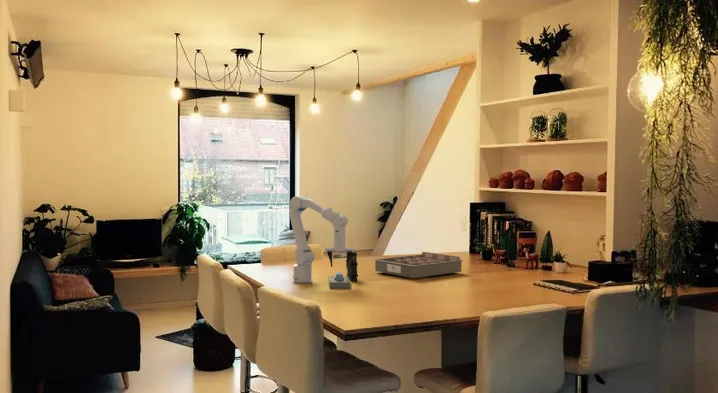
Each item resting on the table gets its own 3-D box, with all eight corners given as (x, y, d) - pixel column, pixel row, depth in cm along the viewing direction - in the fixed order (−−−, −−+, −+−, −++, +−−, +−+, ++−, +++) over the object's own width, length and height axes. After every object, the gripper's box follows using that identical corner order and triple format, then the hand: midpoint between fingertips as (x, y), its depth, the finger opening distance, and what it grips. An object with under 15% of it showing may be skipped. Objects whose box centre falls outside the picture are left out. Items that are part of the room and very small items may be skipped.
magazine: (352, 279, 312) (349, 251, 318) (347, 286, 324) (344, 259, 330) (359, 279, 313) (356, 251, 319) (354, 286, 325) (351, 259, 331)
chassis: (329, 288, 295) (329, 282, 295) (328, 282, 313) (328, 276, 313) (350, 288, 295) (350, 282, 295) (348, 282, 313) (348, 276, 313)
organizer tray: (373, 273, 345) (373, 255, 344) (422, 267, 370) (422, 251, 370) (413, 281, 320) (413, 262, 320) (463, 274, 346) (463, 256, 346)
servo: (336, 287, 299) (336, 274, 298) (335, 283, 309) (335, 271, 309) (342, 287, 299) (343, 274, 299) (342, 283, 309) (342, 271, 309)
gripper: (325, 240, 299) (324, 267, 299) (354, 240, 300) (354, 267, 300) (325, 238, 306) (324, 265, 306) (353, 238, 307) (353, 265, 307)
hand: (339, 266), depth 304 cm, fingers open, 7 cm apart
